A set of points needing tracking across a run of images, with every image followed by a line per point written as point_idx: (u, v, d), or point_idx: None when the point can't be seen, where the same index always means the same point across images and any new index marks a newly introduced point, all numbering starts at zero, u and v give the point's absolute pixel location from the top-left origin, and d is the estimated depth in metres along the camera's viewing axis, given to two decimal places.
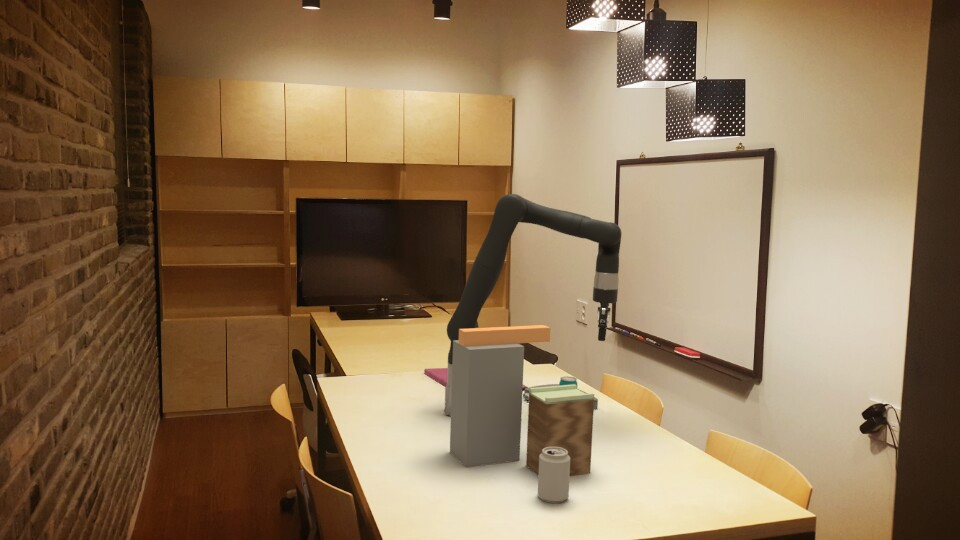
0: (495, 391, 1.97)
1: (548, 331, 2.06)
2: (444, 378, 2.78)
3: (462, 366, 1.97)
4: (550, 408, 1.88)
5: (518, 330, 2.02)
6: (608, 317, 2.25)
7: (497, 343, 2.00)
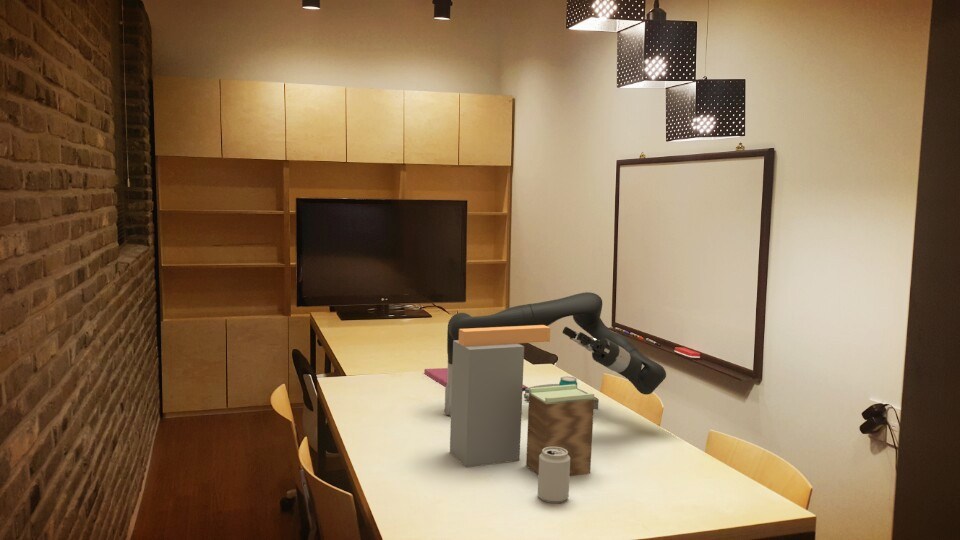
0: (495, 391, 1.97)
1: (548, 331, 2.06)
2: (444, 378, 2.78)
3: (462, 366, 1.97)
4: (550, 408, 1.88)
5: (518, 330, 2.02)
6: (593, 350, 2.14)
7: (497, 343, 2.00)
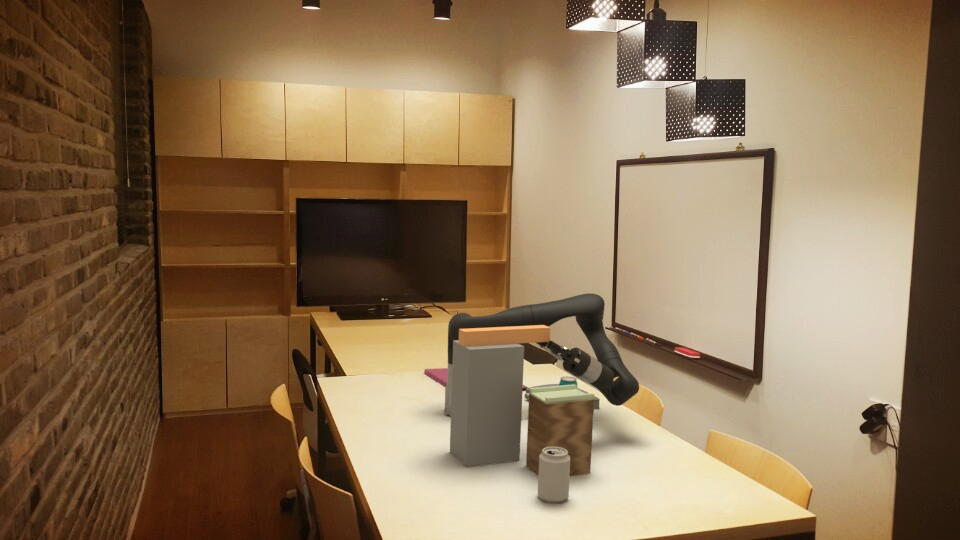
0: (495, 391, 1.97)
1: (548, 331, 2.06)
2: (444, 378, 2.78)
3: (462, 366, 1.97)
4: (550, 408, 1.88)
5: (518, 330, 2.02)
6: (563, 359, 2.07)
7: (497, 343, 2.00)
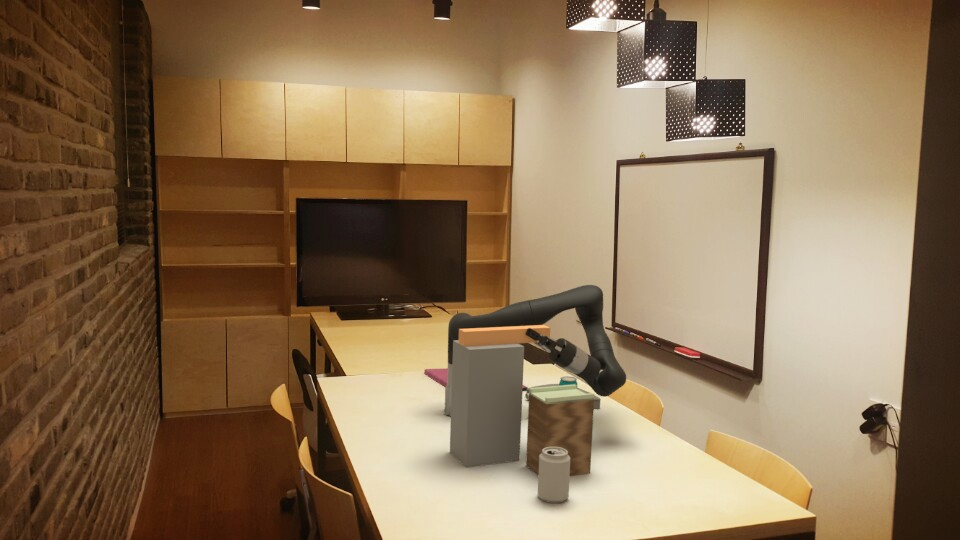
0: (495, 391, 1.97)
1: (548, 331, 2.06)
2: (444, 378, 2.78)
3: (462, 366, 1.97)
4: (550, 408, 1.88)
5: (518, 330, 2.02)
6: (545, 348, 2.05)
7: (497, 343, 2.00)
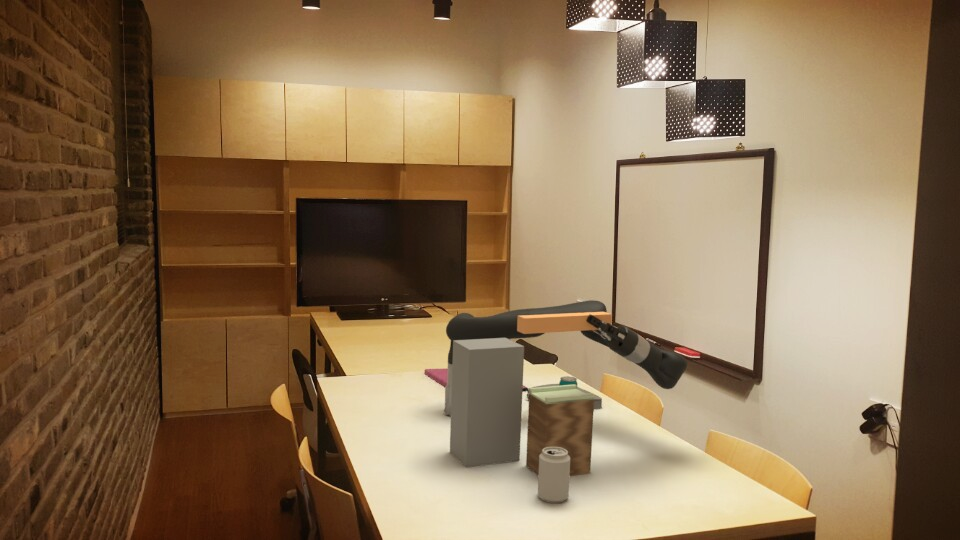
0: (495, 391, 1.97)
1: (609, 318, 1.96)
2: (444, 378, 2.77)
3: (462, 366, 1.97)
4: (550, 408, 1.88)
5: (579, 317, 1.92)
6: (606, 335, 1.95)
7: (558, 330, 1.90)
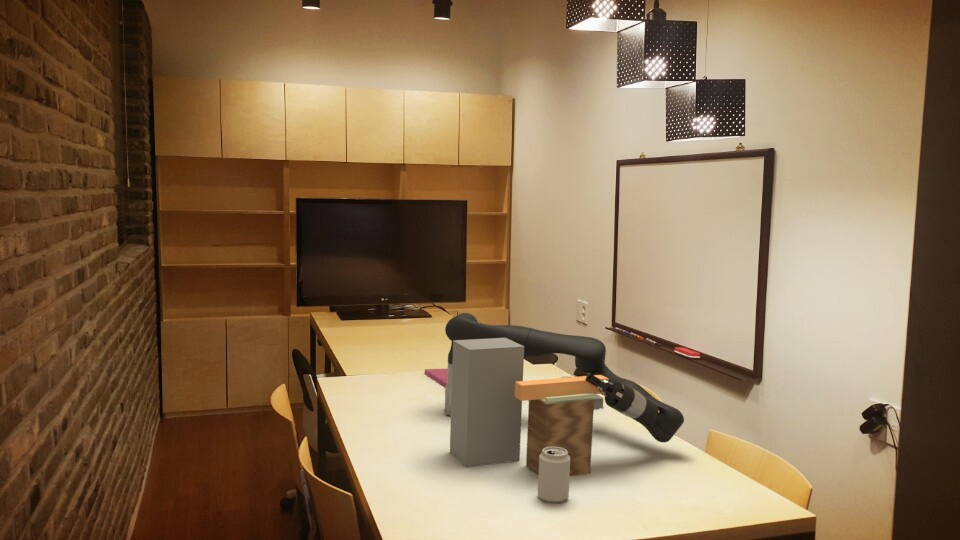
0: (495, 391, 1.97)
1: None
2: (444, 379, 2.77)
3: (462, 366, 1.97)
4: (550, 408, 1.88)
5: (576, 382, 1.94)
6: (604, 393, 1.96)
7: None
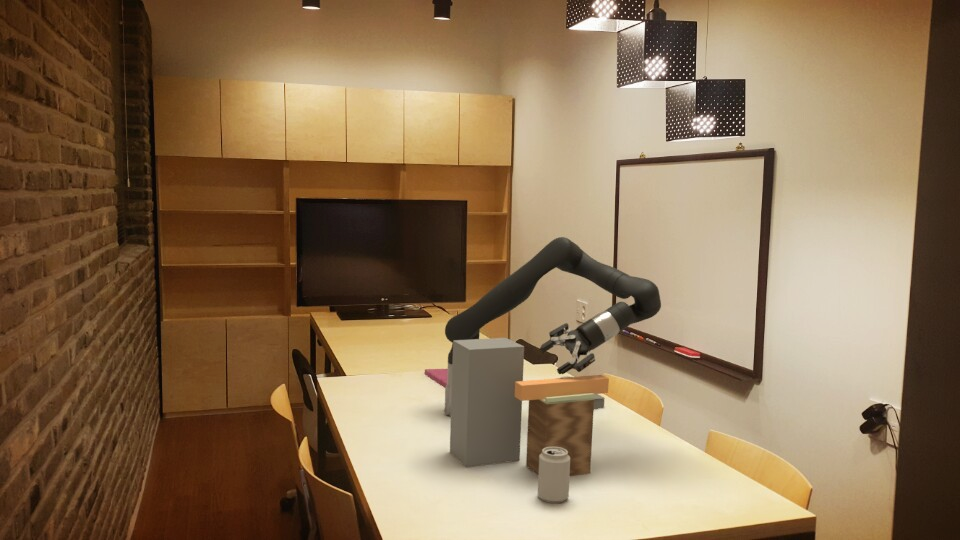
0: (495, 391, 1.97)
1: (606, 382, 1.97)
2: (443, 379, 2.77)
3: (462, 366, 1.97)
4: (550, 408, 1.88)
5: (576, 382, 1.94)
6: None
7: None
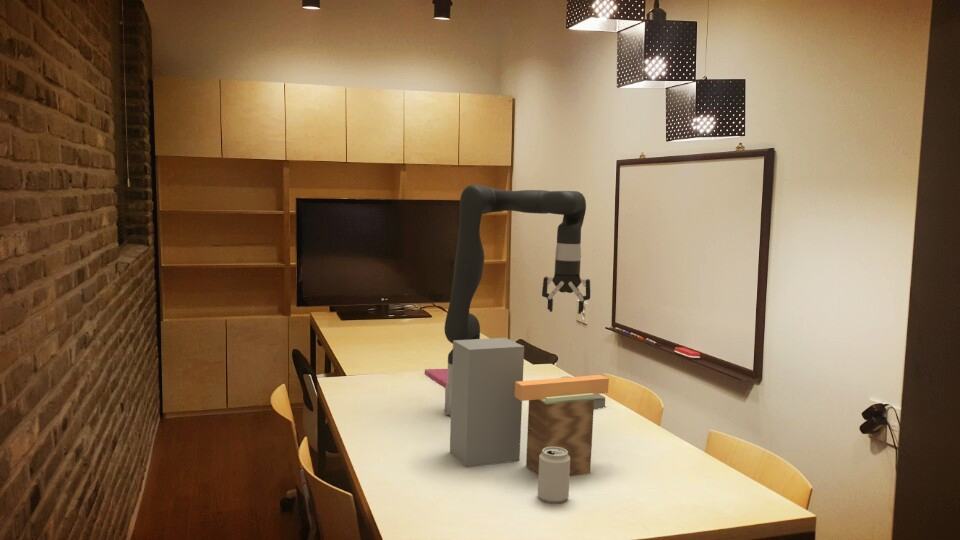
0: (495, 391, 1.97)
1: (606, 382, 1.97)
2: (443, 379, 2.77)
3: (462, 366, 1.97)
4: (550, 408, 1.88)
5: (576, 382, 1.94)
6: None
7: None
